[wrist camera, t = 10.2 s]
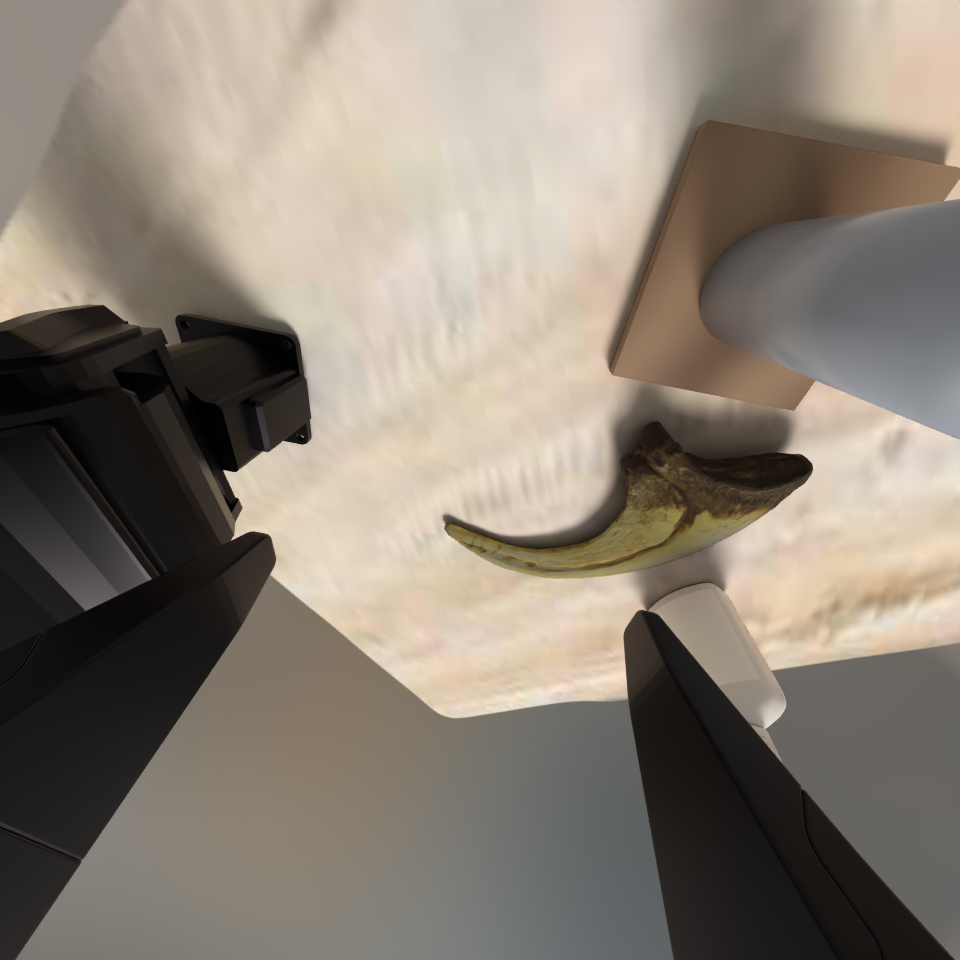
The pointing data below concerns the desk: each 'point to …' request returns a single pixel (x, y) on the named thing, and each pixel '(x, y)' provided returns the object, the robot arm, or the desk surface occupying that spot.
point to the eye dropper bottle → (725, 652)
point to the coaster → (728, 217)
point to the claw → (660, 511)
